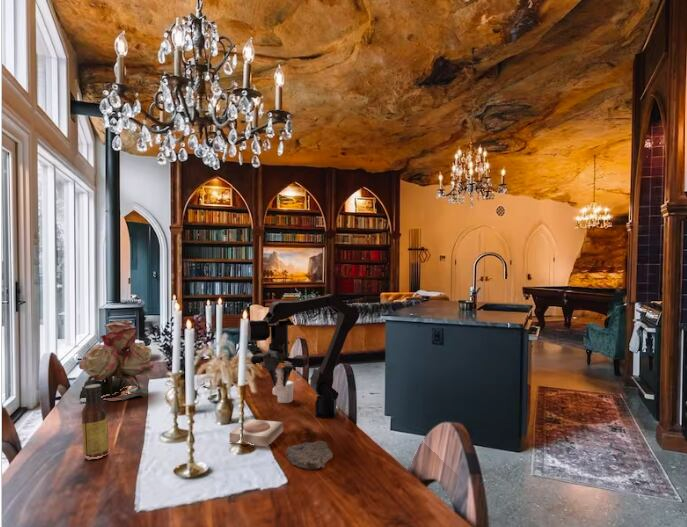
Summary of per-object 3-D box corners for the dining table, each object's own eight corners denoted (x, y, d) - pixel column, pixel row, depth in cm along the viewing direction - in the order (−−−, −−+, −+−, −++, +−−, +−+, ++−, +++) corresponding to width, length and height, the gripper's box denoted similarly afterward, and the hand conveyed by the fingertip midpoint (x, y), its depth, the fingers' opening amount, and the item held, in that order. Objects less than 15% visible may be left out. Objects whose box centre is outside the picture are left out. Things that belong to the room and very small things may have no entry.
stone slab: (290, 475, 117) (290, 464, 117) (284, 448, 133) (284, 437, 133) (337, 470, 119) (337, 459, 119) (326, 444, 136) (326, 434, 136)
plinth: (282, 431, 145) (282, 421, 145) (266, 447, 133) (266, 436, 133) (248, 428, 148) (247, 418, 148) (229, 443, 136) (229, 432, 136)
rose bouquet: (73, 408, 169) (72, 327, 169) (96, 386, 198) (94, 317, 197) (148, 402, 176) (146, 324, 175) (159, 381, 204) (158, 314, 203)
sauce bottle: (114, 453, 130) (112, 383, 129) (95, 463, 124) (94, 389, 123) (96, 450, 132) (94, 381, 131) (77, 459, 126) (75, 387, 126)
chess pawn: (269, 393, 154) (269, 366, 154) (283, 390, 157) (283, 364, 157) (276, 396, 150) (276, 369, 150) (290, 393, 153) (290, 367, 152)
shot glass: (292, 403, 172) (292, 385, 172) (274, 403, 172) (274, 385, 172) (295, 397, 179) (294, 380, 179) (277, 397, 179) (277, 380, 179)
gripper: (242, 342, 148) (243, 390, 148) (296, 345, 143) (297, 394, 143) (257, 336, 158) (258, 381, 159) (308, 338, 153) (309, 385, 154)
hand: (280, 385), depth 153 cm, fingers closed on chess pawn, 3 cm apart
